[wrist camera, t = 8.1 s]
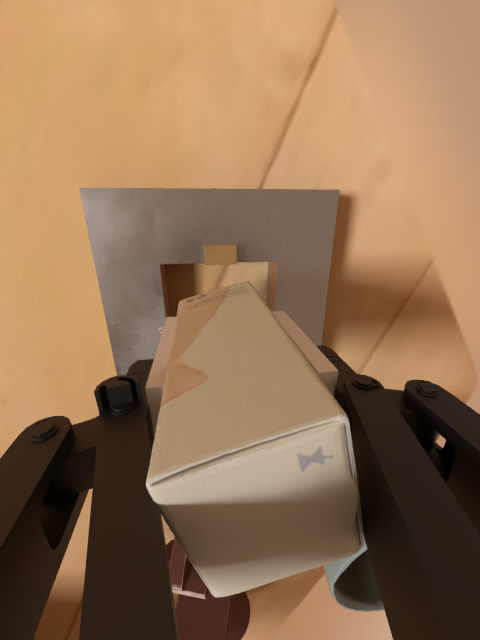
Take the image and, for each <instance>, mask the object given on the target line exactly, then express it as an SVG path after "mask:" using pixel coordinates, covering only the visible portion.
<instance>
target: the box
mask: <svg viewBox="0 0 480 640" xmlns="http://www.w3.org/2000/svg"><path fill="white" fill-rule="evenodd" d="M146 487H147V489H148V491H149V494H150V495H151V497H152V499H153V501H154V502H156V503H158V507H159V511H160V513H161V514H162V516H163V518H164V520H165V522H166V523H167V525H168V526H169V528H170V530H171V532H172V533H173V534H174V536H175V538H176V540H177V541H178V543H179V545H180V546H181V548H182V550H183V551H184V552H185V554H186V555H187V557H188V559H189V560H190V562H191V563H192V565H193V566H194V568H195V569H196V571H197V572H198V574H199V575H200V577H201V578H202V580H203V581H204V583H205V584H206V586H207V587H208V589H209V590H210V592H211V594H212V595H213V596H214V597H216V598H217V597H225V596H230V595H234V594H237V593H241V592H244V591H247V590H250V589H253V588H256V587H259V586H262V585H265V584H268V583H271V582H274V581H277V580H280V579H283V578H286V577H289V576H293V575H295V574H298V573H301V572H304V571H308V570H311V569H314V568H317V567H320V566H323V565H326V564H330V563H333V562H336V561H338V560H341V559H344V558H347V557H350V556H353V555H355V554H356V553H357V552H359V551H360V550H361V549H362V547H363V546H364V537H363V525H362V514H361V505H360V496H359V487H358V480H357V473H356V465H355V458H354V452H353V444H352V437H351V432H350V425H349V419H348V417H347V414H346V413H345V412H344V410H343V409H342V408H341V406H340V405H339V404H338V402H337V401H336V399H335V398H334V397H333V395H332V394H331V393H330V391H329V390H328V388H327V387H326V386H325V384H324V383H323V381H322V380H321V379H320V377H319V376H318V374H317V373H316V372H315V371H314V369H313V368H312V366H311V365H310V363H309V362H308V361H307V359H306V358H305V357H304V355H303V354H302V352H301V351H300V350H299V348H298V347H297V346H296V344H295V343H294V342H293V340H292V339H291V337H290V336H289V335H288V333H287V332H286V330H285V329H284V328H283V327H282V325H281V324H280V322H279V321H278V320H277V318H276V317H275V316H274V314H273V313H272V312H271V310H270V309H269V307H268V306H267V305H266V303H265V302H264V301H263V300H262V298H261V297H260V295H259V294H258V293H257V291H256V290H255V289H254V287H253V286H252V284H251V283H250V282H249V281H245V282H241V283H237V284H233V285H229V286H225V287H222V288H218V289H215V290H211V291H208V292H205V293H202V294H199V295H195V296H192V297H189V298H186V299H183V300H181V301H180V302H179V306H178V311H177V317H176V323H175V328H174V334H173V339H172V344H171V350H170V356H169V361H168V367H167V372H166V378H165V384H164V390H163V395H162V400H161V407H160V412H159V416H158V422H157V427H156V434H155V439H154V444H153V449H152V454H151V459H150V465H149V470H148V475H147V479H146Z"/></svg>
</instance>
